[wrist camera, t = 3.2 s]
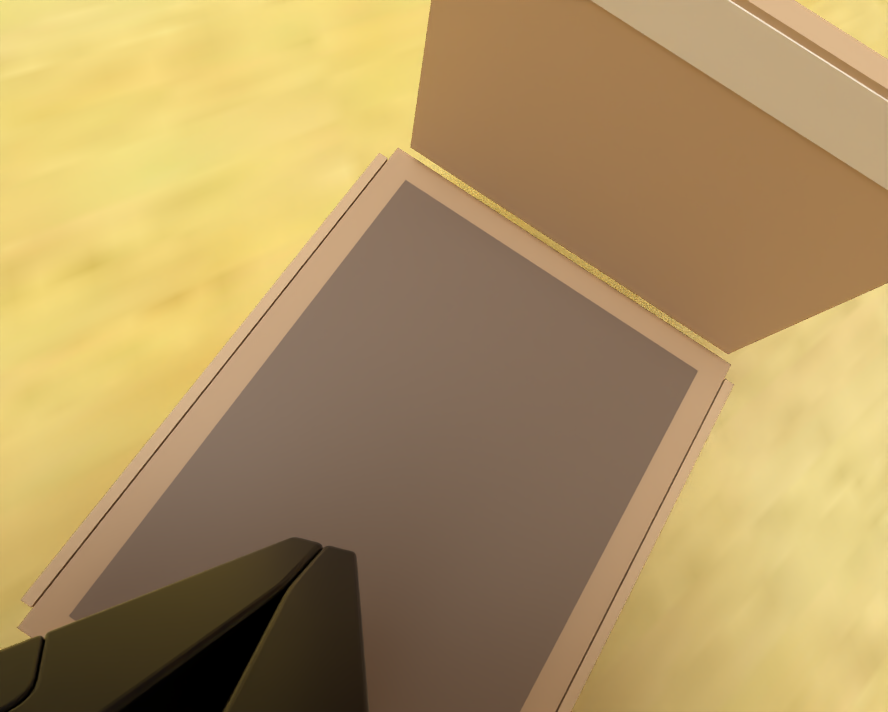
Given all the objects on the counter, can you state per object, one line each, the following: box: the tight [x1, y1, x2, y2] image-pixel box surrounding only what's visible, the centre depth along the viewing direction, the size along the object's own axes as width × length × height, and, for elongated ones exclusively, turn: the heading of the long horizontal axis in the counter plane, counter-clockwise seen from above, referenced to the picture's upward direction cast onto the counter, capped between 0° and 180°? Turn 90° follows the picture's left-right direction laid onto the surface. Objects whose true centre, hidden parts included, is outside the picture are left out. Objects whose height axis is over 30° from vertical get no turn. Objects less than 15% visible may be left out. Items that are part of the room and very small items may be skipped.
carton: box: [17, 148, 734, 712], centre depth 19 cm, size 16×13×4 cm
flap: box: [411, 0, 888, 354], centre depth 15 cm, size 10×11×1 cm
